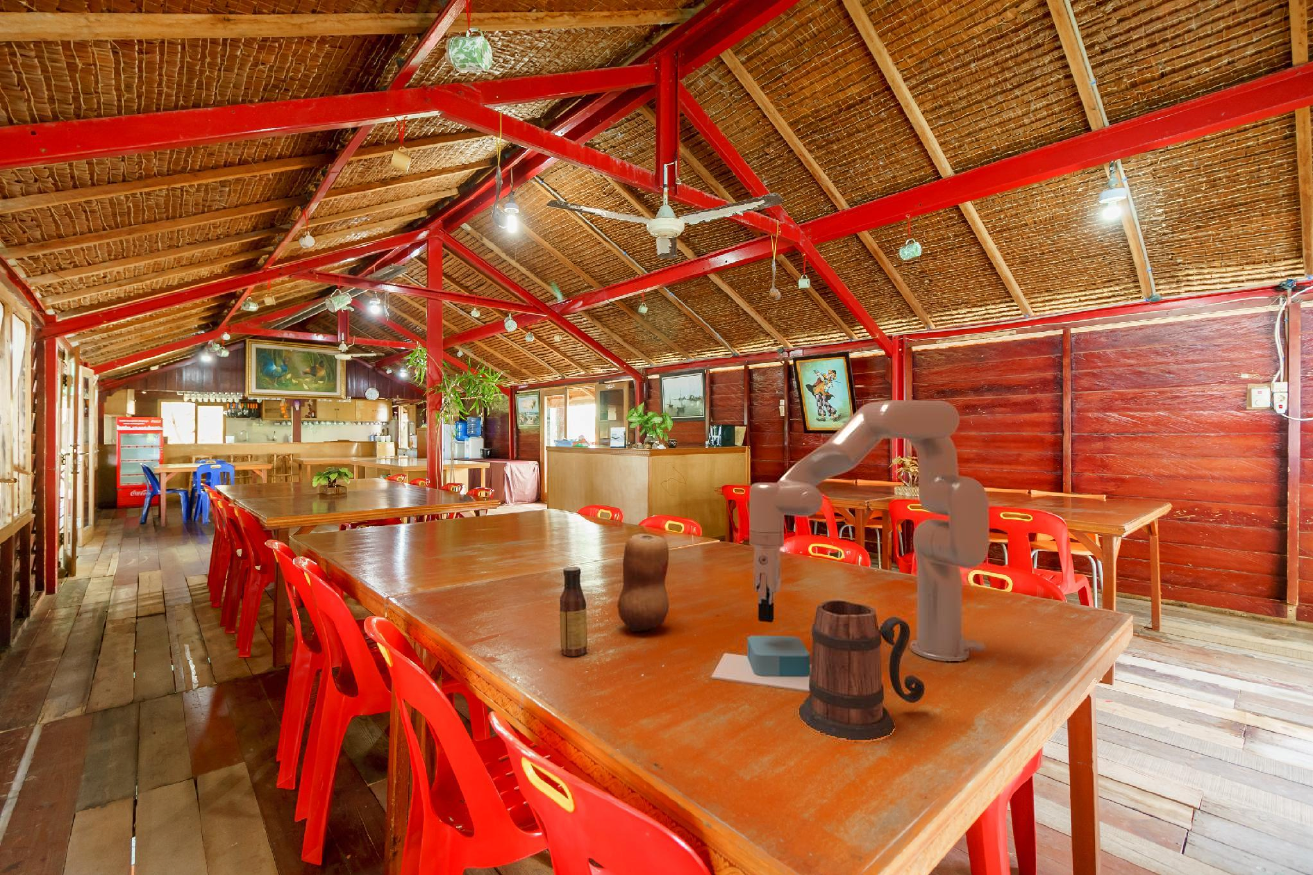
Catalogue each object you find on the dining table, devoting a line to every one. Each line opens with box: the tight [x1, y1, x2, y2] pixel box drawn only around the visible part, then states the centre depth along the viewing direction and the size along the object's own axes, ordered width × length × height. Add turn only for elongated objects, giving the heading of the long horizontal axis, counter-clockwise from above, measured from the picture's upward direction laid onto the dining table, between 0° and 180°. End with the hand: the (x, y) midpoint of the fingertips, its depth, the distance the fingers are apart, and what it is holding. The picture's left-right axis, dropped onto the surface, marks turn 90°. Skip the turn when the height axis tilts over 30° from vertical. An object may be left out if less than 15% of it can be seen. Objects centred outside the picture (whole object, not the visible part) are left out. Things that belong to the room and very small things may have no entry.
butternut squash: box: [616, 533, 670, 632], centre depth 151 cm, size 14×13×25 cm
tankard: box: [798, 599, 925, 740], centre depth 104 cm, size 24×17×20 cm
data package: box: [746, 635, 811, 676], centre depth 126 cm, size 12×4×12 cm
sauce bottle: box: [559, 566, 588, 657], centre depth 134 cm, size 6×6×20 cm
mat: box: [711, 652, 812, 693], centre depth 123 cm, size 20×14×1 cm
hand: (766, 620), depth 127 cm, fingers closed
